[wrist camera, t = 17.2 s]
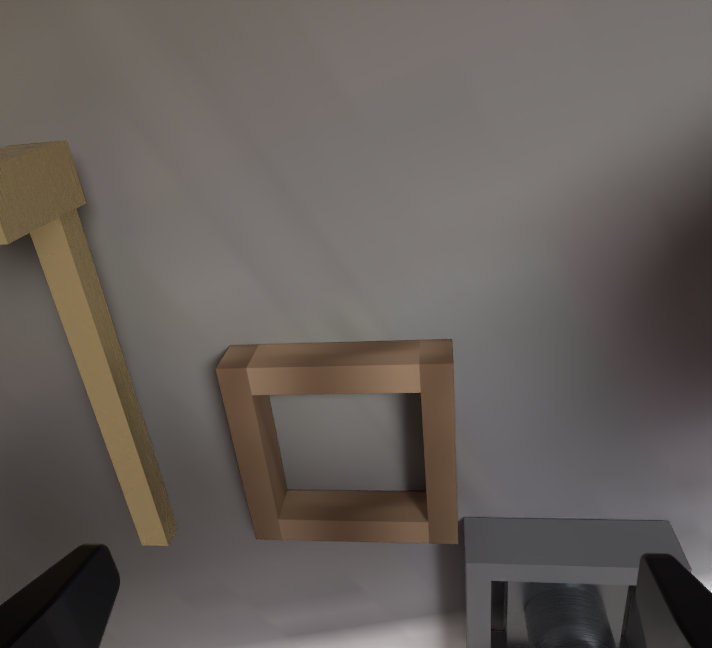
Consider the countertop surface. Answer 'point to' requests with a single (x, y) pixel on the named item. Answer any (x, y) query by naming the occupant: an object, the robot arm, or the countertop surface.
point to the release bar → (84, 318)
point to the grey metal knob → (563, 615)
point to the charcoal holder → (557, 562)
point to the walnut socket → (342, 376)
